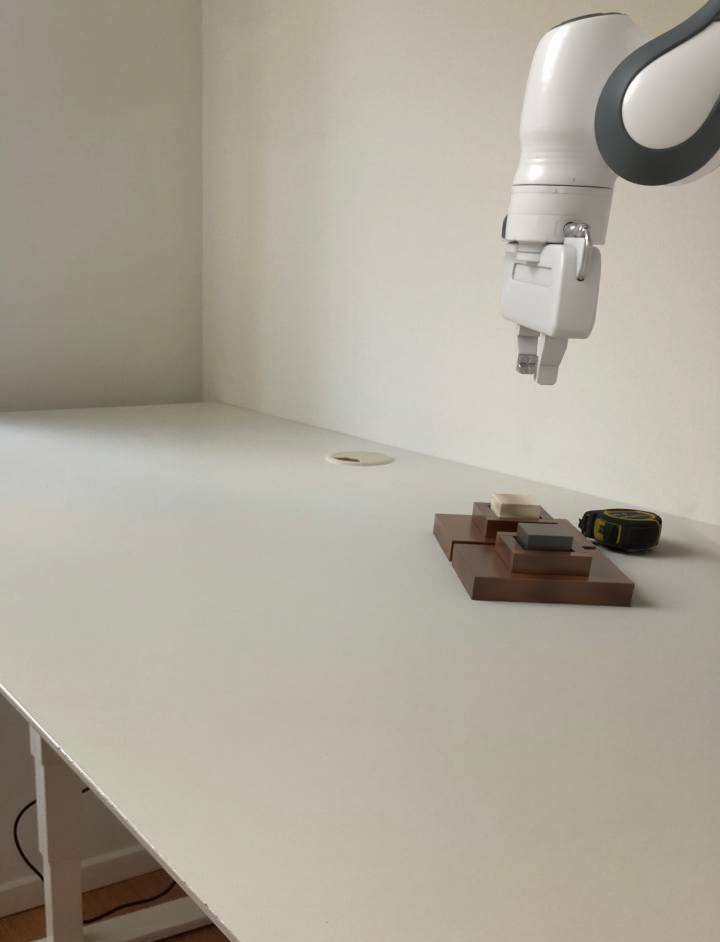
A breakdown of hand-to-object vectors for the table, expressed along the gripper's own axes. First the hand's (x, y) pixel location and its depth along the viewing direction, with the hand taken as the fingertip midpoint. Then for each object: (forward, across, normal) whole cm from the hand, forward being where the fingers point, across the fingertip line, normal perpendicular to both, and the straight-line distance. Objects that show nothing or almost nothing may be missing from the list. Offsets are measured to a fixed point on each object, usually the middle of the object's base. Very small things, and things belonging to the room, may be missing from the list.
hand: (534, 378), depth 98 cm
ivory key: (+14, 0, 0) cm, 14 cm away
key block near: (+17, -11, 0) cm, 20 cm away
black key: (+14, -11, 0) cm, 17 cm away
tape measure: (+17, +3, -12) cm, 21 cm away
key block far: (+17, 0, 0) cm, 17 cm away
